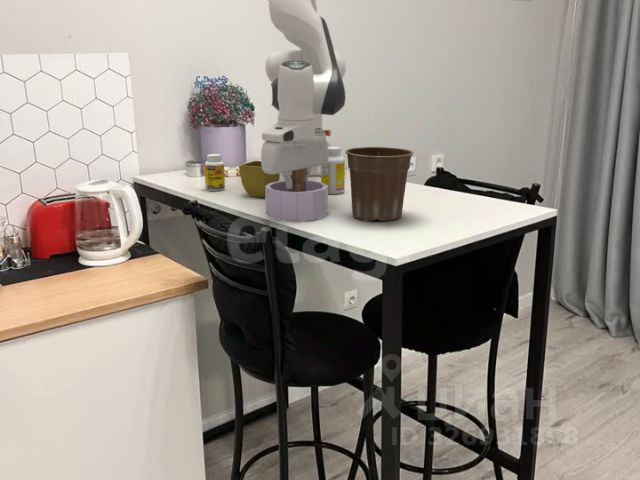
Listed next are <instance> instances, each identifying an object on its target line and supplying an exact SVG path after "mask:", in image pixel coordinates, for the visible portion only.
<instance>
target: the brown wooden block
mask: <svg viewBox="0 0 640 480" xmlns="http://www.w3.org/2000/svg"><path fill="white" fill-rule="evenodd" d="M291 179H292V181H294V182H295V188H294V189H288V192H304V191H306V168H305V169H299V170H295V171H292V175H291Z"/></svg>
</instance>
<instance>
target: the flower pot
mask: <svg viewBox="0 0 640 480" xmlns="http://www.w3.org/2000/svg"><path fill="white" fill-rule="evenodd" d="M238 170H239V176H240V180H241V185H242V187H243V189H244V190H245V192H246V194H247V195H248V196H249V197H258V198H265V186H266V185H268V184H269V183H273V182H278V181H280V176H281V173H279V174H267V173H264V171H263V170H262V166H261V160H253V161H249V162H245V163H241V164H238Z"/></svg>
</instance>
